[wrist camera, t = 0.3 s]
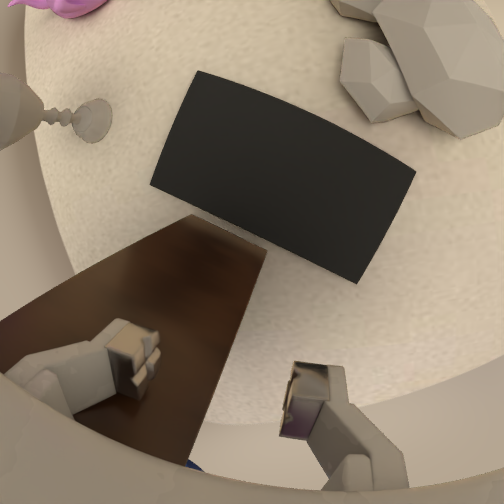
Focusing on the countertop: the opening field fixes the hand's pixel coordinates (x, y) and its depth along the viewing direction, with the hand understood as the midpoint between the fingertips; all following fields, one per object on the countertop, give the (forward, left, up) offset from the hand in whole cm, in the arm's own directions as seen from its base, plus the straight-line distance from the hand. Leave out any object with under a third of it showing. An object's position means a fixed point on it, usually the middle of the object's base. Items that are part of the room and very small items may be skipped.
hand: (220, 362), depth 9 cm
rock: (+12, -20, -20) cm, 30 cm away
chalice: (+18, +13, -20) cm, 30 cm away
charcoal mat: (+4, -2, -19) cm, 20 cm away
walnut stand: (-3, +8, -20) cm, 21 cm away
